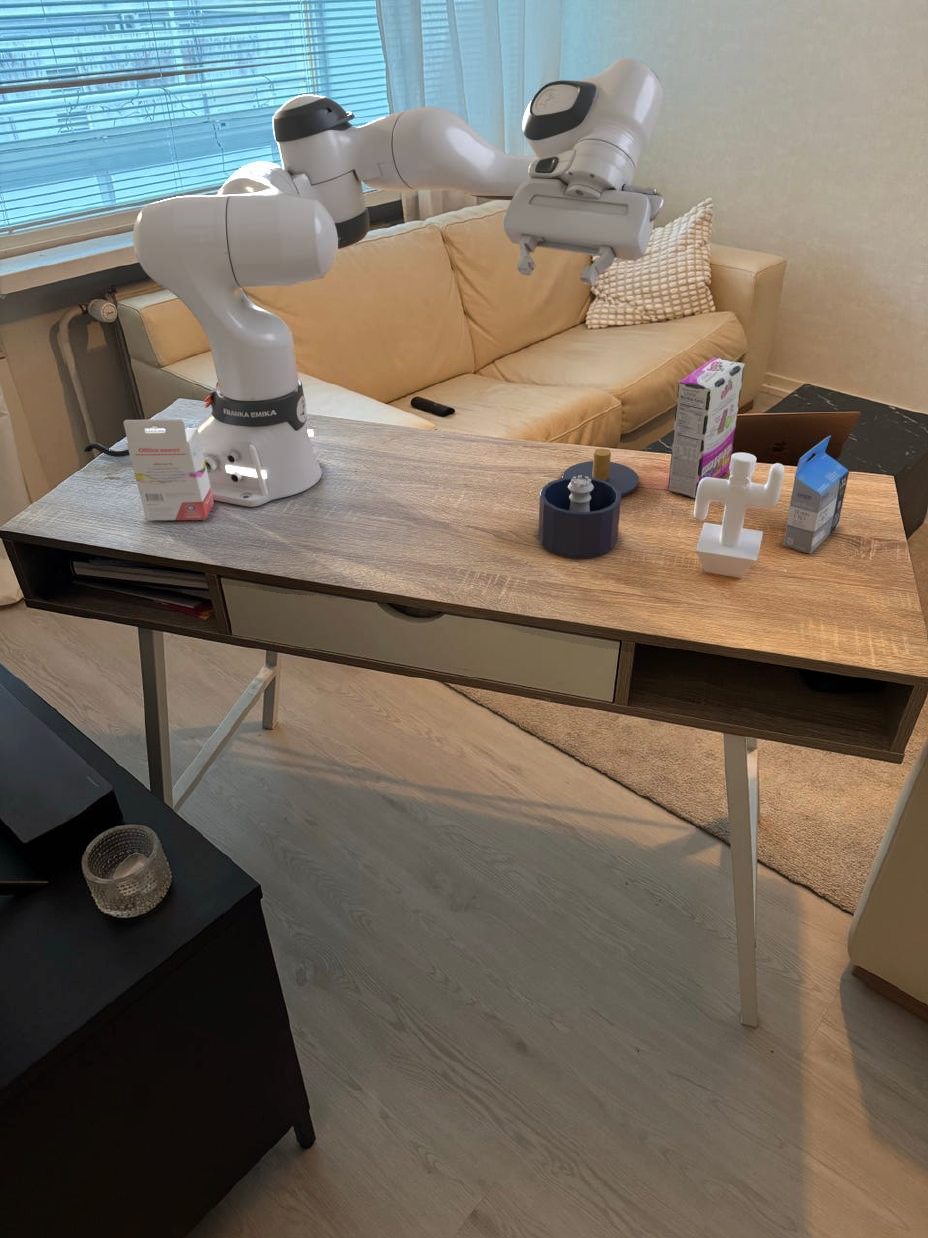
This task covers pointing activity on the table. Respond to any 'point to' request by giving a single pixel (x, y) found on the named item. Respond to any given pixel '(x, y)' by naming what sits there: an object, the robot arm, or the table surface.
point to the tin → (579, 520)
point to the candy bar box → (704, 424)
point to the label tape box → (815, 499)
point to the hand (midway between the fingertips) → (554, 277)
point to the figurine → (734, 516)
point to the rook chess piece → (580, 494)
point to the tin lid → (606, 472)
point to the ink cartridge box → (169, 469)
